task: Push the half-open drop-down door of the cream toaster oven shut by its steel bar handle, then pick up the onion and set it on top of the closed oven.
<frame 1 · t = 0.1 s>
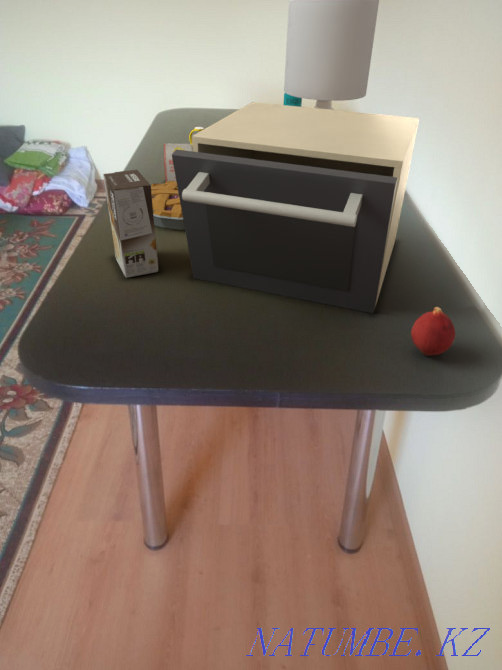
oven: (302, 256, 100), on the table
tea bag: (180, 184, 132), on the table
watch: (199, 148, 159), on the table
oven door: (274, 246, 78), point 11 cm above the table, hinge at 12.9°
lamp: (317, 165, 148), on the table
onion: (426, 355, 75), on the table
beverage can: (290, 139, 170), on the table
coffee box: (136, 265, 96), on the table
pie: (186, 214, 116), on the table
dixie cup: (335, 196, 127), on the table
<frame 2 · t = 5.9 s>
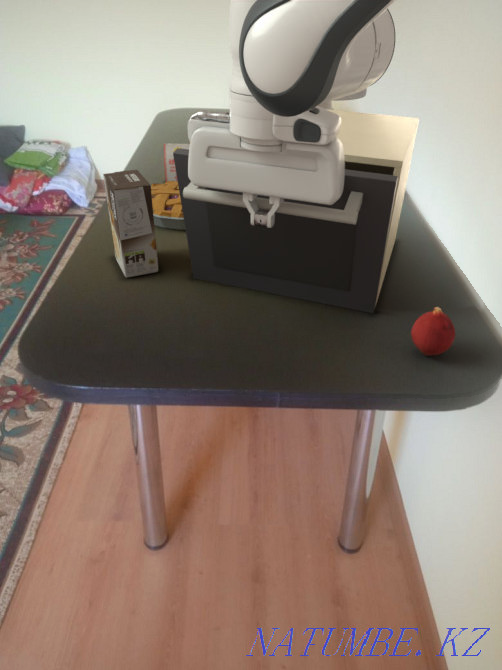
hand: (262, 225, 70), 17 cm above the table, tool pointing down, fingers closed, pressing on oven door
oven door: (274, 245, 78), point 11 cm above the table, hinge at 11.8°, touching gripper
everything else where it was.
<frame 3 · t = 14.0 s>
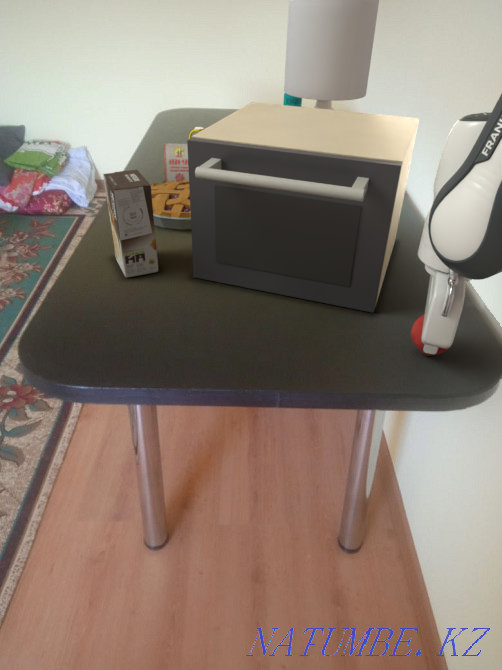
hand: (431, 336, 73), 3 cm above the table, tool pointing down, fingers closed on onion, 6 cm apart
oven door: (279, 234, 79), point 12 cm above the table, hinge at -0.2°
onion: (426, 355, 75), on the table, touching gripper
everything else where it was.
when the fingers open (27 cm above the table, at t = 21.3 s): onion stays where it is, resting on oven.
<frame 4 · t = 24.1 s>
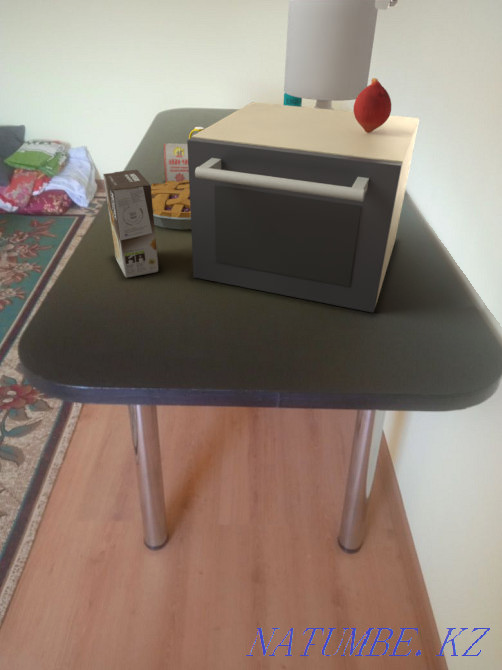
hand: (386, 7, 74), 41 cm above the table, tool pointing down, fingers open, 8 cm apart
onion: (368, 133, 84), point 24 cm above the table, touching oven
everything else where it was.
at the end: oven door at +0° (first picture: +13°); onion inside the target area on the oven (9.1 cm from its centre), point 23.8 cm above the oven's base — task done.
